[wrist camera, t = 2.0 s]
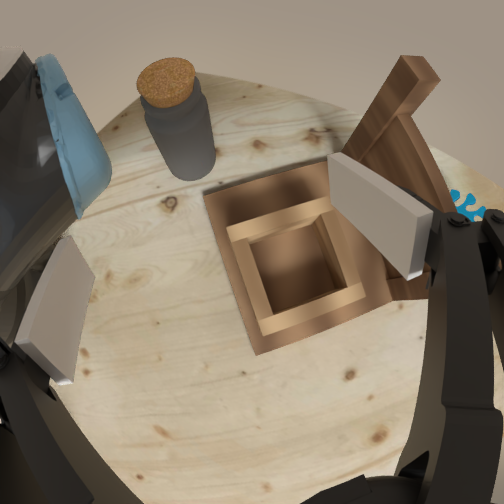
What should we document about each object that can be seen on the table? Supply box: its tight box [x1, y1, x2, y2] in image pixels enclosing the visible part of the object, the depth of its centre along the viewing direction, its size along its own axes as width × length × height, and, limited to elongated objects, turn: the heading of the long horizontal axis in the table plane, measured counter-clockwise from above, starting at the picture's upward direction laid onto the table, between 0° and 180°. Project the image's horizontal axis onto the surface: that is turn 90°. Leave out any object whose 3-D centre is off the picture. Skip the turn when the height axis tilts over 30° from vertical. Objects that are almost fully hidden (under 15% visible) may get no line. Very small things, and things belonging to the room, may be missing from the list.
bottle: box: [137, 58, 216, 181], centre depth 26 cm, size 6×6×15 cm
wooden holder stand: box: [203, 55, 502, 356], centre depth 23 cm, size 19×18×19 cm
